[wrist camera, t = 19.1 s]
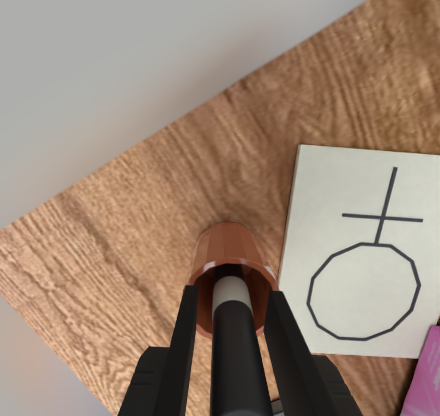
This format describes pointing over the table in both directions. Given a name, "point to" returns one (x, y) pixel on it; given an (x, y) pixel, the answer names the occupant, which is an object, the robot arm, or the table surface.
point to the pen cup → (230, 253)
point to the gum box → (425, 380)
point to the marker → (235, 350)
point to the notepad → (363, 250)
